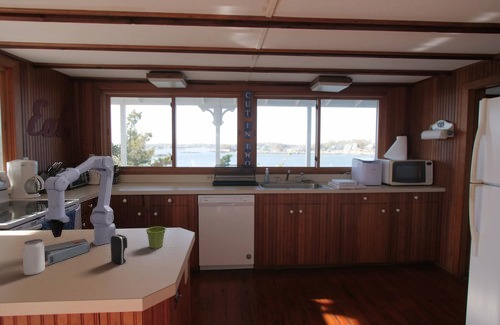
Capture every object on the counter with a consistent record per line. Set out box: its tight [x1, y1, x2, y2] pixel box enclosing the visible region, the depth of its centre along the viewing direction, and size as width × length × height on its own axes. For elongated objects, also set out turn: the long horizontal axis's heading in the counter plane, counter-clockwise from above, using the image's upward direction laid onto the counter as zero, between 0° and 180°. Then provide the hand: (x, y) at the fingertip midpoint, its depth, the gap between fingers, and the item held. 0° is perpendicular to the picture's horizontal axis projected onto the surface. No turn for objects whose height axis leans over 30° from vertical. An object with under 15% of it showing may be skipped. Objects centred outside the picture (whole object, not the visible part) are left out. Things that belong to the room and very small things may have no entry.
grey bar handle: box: [47, 242, 91, 265], centre depth 118 cm, size 17×2×4 cm, turn 152°
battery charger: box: [110, 233, 128, 265], centre depth 114 cm, size 7×4×11 cm, turn 60°
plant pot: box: [145, 226, 167, 250], centre depth 132 cm, size 9×9×9 cm
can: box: [22, 238, 46, 276], centre depth 104 cm, size 6×6×12 cm
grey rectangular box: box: [44, 238, 89, 261], centre depth 123 cm, size 17×8×4 cm, turn 132°
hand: (57, 236), depth 115 cm, fingers closed
